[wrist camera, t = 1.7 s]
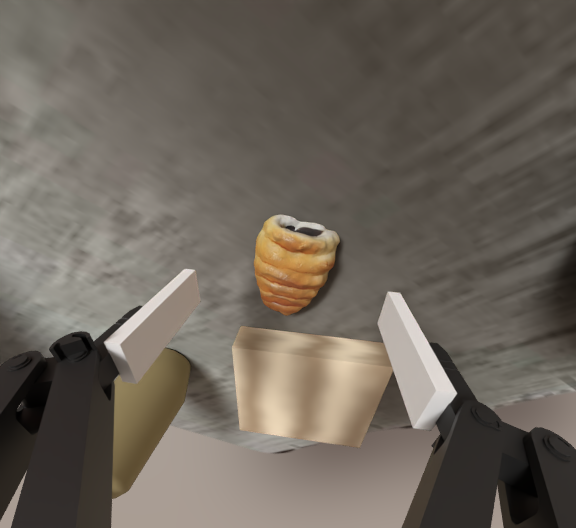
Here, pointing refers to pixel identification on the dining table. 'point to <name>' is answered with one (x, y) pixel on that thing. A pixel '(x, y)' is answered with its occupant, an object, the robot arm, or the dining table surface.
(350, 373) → the serving board
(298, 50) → the dining table surface
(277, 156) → the dining table surface
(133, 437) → the squeeze bottle
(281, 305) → the pastry
